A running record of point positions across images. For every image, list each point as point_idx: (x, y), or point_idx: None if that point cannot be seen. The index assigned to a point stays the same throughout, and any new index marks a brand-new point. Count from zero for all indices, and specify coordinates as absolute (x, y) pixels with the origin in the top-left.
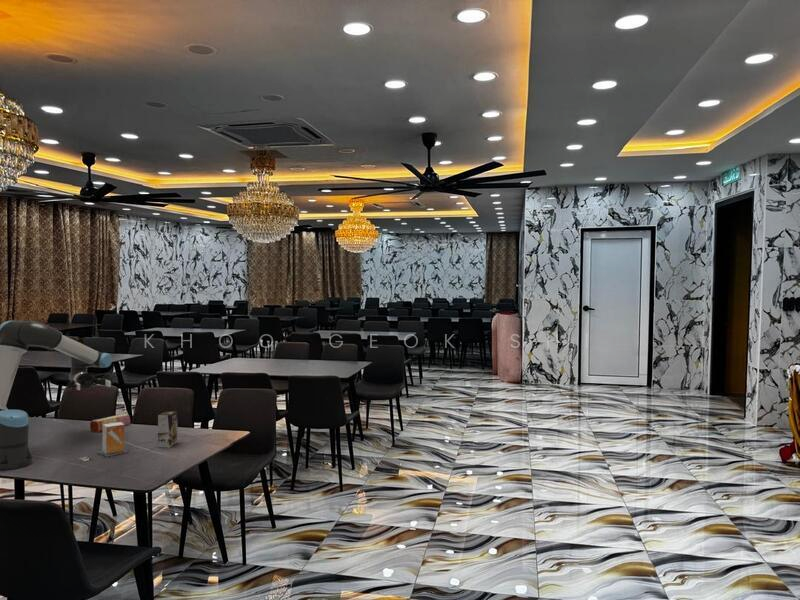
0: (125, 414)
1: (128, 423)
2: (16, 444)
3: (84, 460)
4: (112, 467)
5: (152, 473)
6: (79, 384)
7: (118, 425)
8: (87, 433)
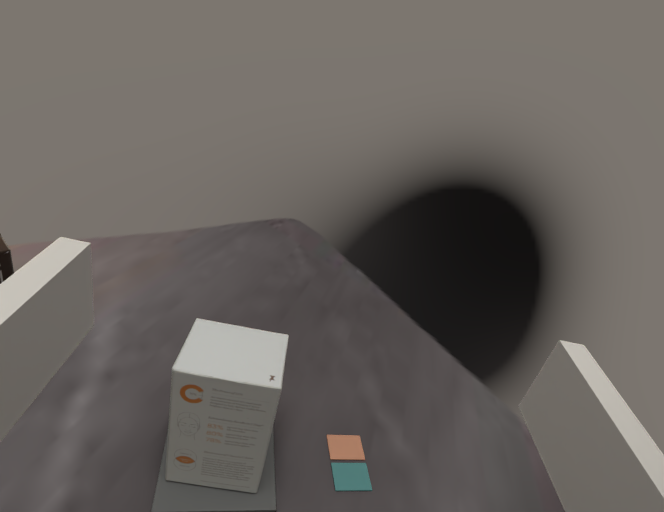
0: None
1: None
2: None
3: (357, 440)
4: (305, 323)
5: (255, 244)
6: (569, 344)
7: (228, 324)
8: None
